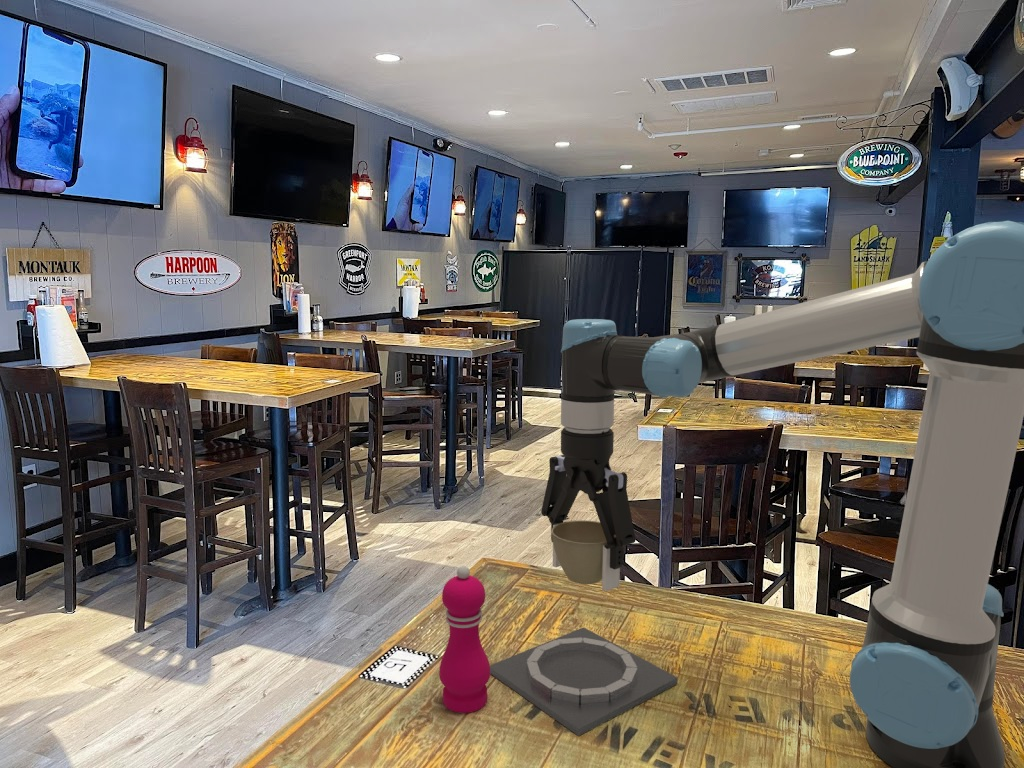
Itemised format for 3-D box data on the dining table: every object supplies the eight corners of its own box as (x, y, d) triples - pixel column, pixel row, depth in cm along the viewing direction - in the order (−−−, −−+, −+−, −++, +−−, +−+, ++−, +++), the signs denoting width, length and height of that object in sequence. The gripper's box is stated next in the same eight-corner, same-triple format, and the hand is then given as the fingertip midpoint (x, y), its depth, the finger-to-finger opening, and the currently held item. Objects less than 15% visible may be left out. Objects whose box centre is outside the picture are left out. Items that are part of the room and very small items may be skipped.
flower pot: (616, 594, 102) (617, 545, 101) (545, 588, 104) (546, 540, 103) (621, 567, 112) (622, 522, 111) (556, 561, 114) (557, 517, 113)
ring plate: (677, 683, 108) (677, 669, 108) (578, 736, 96) (578, 720, 96) (583, 632, 124) (583, 620, 123) (488, 672, 111) (488, 658, 111)
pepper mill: (454, 721, 99) (452, 581, 96) (431, 696, 105) (428, 563, 102) (500, 705, 103) (499, 569, 100) (475, 681, 109) (473, 553, 106)
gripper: (665, 438, 98) (660, 595, 101) (555, 413, 116) (554, 547, 119) (626, 446, 93) (622, 610, 97) (517, 418, 111) (517, 558, 114)
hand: (584, 575), depth 108 cm, fingers closed on flower pot, 10 cm apart
